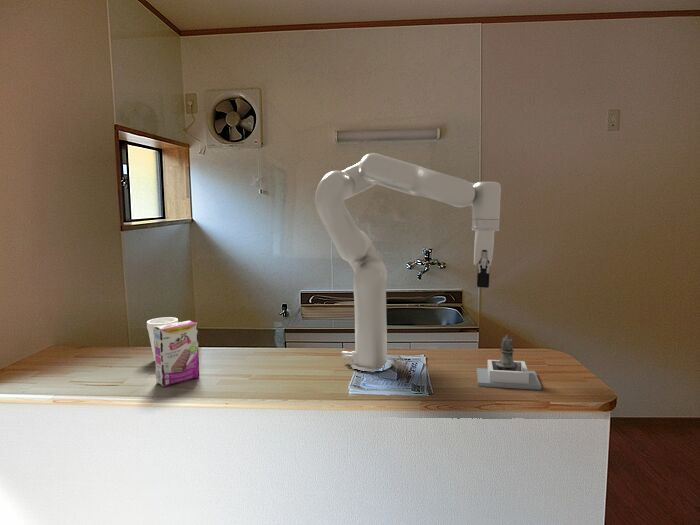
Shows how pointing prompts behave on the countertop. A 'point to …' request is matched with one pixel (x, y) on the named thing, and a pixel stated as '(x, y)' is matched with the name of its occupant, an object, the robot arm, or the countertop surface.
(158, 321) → the foam cup
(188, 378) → the candy bar box
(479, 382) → the holder
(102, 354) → the countertop surface
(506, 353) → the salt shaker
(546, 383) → the countertop surface
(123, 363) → the countertop surface
